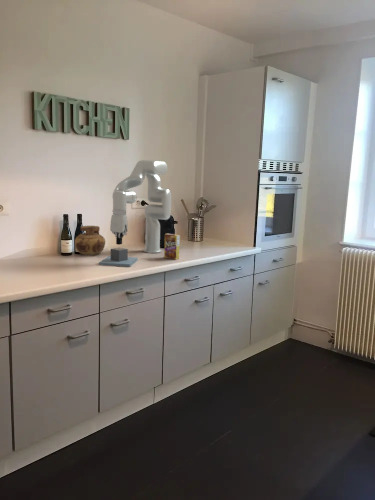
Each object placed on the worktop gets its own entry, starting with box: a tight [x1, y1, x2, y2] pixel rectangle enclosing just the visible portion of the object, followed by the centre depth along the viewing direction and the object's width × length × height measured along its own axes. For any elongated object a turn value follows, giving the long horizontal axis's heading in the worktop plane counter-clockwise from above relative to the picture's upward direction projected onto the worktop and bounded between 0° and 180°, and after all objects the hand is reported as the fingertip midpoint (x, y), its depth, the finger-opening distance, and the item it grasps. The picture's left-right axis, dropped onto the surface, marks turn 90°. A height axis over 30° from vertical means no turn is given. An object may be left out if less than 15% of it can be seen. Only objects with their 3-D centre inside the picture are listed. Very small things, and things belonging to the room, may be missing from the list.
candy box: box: [163, 233, 181, 261], centre depth 273 cm, size 9×4×15 cm, turn 60°
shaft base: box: [98, 255, 139, 268], centre depth 256 cm, size 20×18×6 cm
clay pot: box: [74, 225, 106, 256], centre depth 277 cm, size 19×19×20 cm
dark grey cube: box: [110, 247, 129, 262], centre depth 256 cm, size 7×7×7 cm
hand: (119, 244), depth 255 cm, fingers closed
